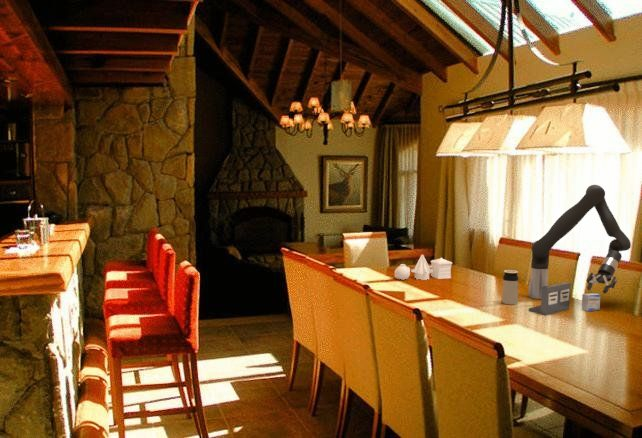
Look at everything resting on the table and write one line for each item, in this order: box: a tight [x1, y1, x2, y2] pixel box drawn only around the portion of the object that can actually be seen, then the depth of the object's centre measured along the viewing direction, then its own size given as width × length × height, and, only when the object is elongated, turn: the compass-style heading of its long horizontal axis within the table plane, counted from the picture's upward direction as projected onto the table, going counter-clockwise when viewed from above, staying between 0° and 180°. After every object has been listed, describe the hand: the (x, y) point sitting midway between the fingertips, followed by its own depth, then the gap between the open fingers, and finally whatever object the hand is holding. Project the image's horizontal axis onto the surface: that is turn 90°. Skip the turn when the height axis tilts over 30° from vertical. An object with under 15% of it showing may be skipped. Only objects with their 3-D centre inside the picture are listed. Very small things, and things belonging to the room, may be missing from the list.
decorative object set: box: [394, 254, 453, 281], centre depth 398 cm, size 40×18×16 cm, turn 109°
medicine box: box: [581, 292, 601, 312], centre depth 313 cm, size 8×4×9 cm, turn 107°
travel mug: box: [501, 269, 519, 306], centre depth 326 cm, size 8×8×18 cm
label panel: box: [528, 281, 572, 316], centre depth 311 cm, size 10×22×14 cm, turn 127°
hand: (596, 291), depth 314 cm, fingers open, 8 cm apart
